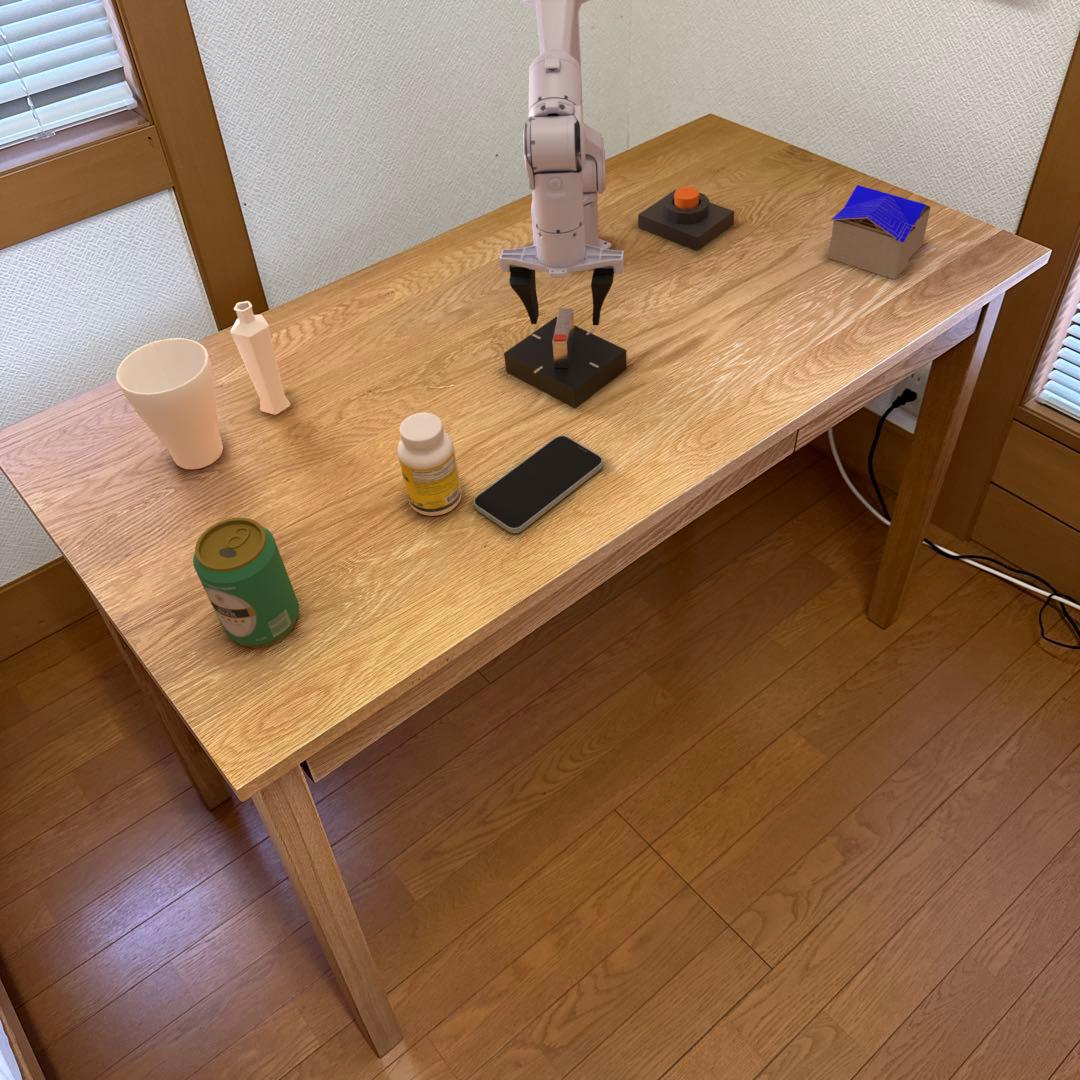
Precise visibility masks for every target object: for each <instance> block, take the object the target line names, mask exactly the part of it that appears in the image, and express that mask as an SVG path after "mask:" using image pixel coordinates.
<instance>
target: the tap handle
mask: <svg viewBox="0 0 1080 1080" xmlns="http://www.w3.org/2000/svg"><path fill="white" fill-rule="evenodd" d="M574 312H575V311H574V308H559V309H558V314H557V317H558V318H557V322H556V327H555V332H554V337H553V341H552V343H553V356H554V368H569V363H570V358H571V352H572V347H573V342H574V336H575V329H574V325H575V314H574Z"/></svg>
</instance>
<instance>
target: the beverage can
mask: <svg viewBox="0 0 1080 1080" xmlns="http://www.w3.org/2000/svg"><path fill="white" fill-rule="evenodd" d="M192 564H193V568H194V570H195V572H196V574H197V577H198V578H199V581H200V583H201V585H202V587H203V590H204V592H205V593H206V597H207V598H208V600H209V602H210V605H211V606H212V609H213V611H214V613H215V615H216V617H217V619H218V621H219V623H220V626H221V627H222V629H223V632H224V633H225V635H226V636H227V638H229V639H230V640H232V641H233V642H235V643H236V644H237V643H238V644H239V645H241V646H244V647H246V648H256V649H257V648H264V647H265V648H266V647H269V646H271V645H272V646H273V645H274V644H276V643H278V642H280V641H281V640H283V639H284V638H286V637H287V636H288V634H290V633H291V631H292V630H293V628H294V627H295V626H296V622H297V618H298V616H299V612H300V604H299V601H298V597H297V595H296V592H295V590H294V587H293V585H292V581H291V580H290V577H289V574H288V571H287V569H286V566H285V563H284V561H283V558H282V555H281V553H280V550H279V547H278V545H277V542H276V539H275V538H274V535H273V533H271V531H270V530H269V529H268V528H267V527H265V526H263V525H262V524H261V523H259V522H258V521H256V520H255V519H252V518H247V517H231V518H227V519H223V520H220V521H218V522H216V523H214V524H212V525H211V526H210V527H208V528H207V529H205V530H204V531H203V532H202V533H201V534H200V536H199V537H198V539H197V540H196V543H195V546H194V553H193V558H192Z"/></svg>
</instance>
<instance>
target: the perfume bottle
mask: <svg viewBox="0 0 1080 1080" xmlns="http://www.w3.org/2000/svg"><path fill="white" fill-rule="evenodd" d="M233 310H234V311H235V313H236V316H237V318H236V319H235V321H234V324H233V325H232V328H231V329H230V331H229V334H230V335H231V338H232V340H233V342H234V344H235V346H236V349H237V351H238V353H239V356H240V358H241V360H242V363H243V364H244V367H245V369H246V371H247V373H248V376H249V379H250V381H251V383H252V385H253V387H254V389H255V391H256V394H257V396H258V399H259V410H260V412H263V413H267V414H269V415H270V414H271V415H273V416H275V415H278V414H280V413H282V412H283V411H285V410H286V409H287V408H289V407H291V405H292V404H291V403H290V401H289V399H288V398H287V396H286V395H285V390H284V386H283V382H282V378H281V374H280V369H279V364H278V361H277V356H276V351H275V347H274V343H273V339H272V335H271V330H270V325H269V323H268V322H267V320H266V319H265V318H264V316H263V315H262V314H254V311H253V305H252V303H251V302H250V301H249V300H245V301H240V302H237V303H235V306H234V307H233Z"/></svg>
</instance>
